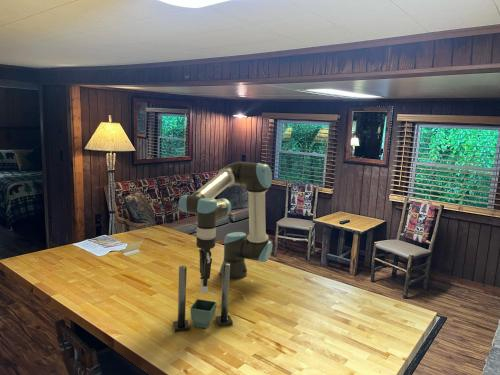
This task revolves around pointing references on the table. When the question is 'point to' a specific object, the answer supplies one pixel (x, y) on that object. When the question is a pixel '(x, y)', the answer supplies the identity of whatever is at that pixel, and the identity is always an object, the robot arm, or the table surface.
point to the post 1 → (181, 303)
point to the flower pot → (202, 312)
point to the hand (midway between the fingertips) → (204, 292)
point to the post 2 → (224, 298)
